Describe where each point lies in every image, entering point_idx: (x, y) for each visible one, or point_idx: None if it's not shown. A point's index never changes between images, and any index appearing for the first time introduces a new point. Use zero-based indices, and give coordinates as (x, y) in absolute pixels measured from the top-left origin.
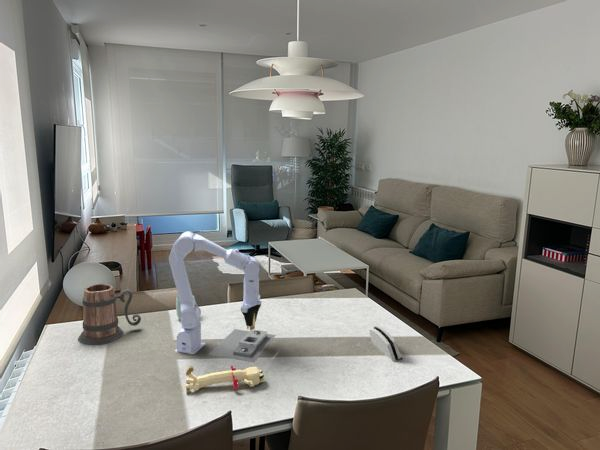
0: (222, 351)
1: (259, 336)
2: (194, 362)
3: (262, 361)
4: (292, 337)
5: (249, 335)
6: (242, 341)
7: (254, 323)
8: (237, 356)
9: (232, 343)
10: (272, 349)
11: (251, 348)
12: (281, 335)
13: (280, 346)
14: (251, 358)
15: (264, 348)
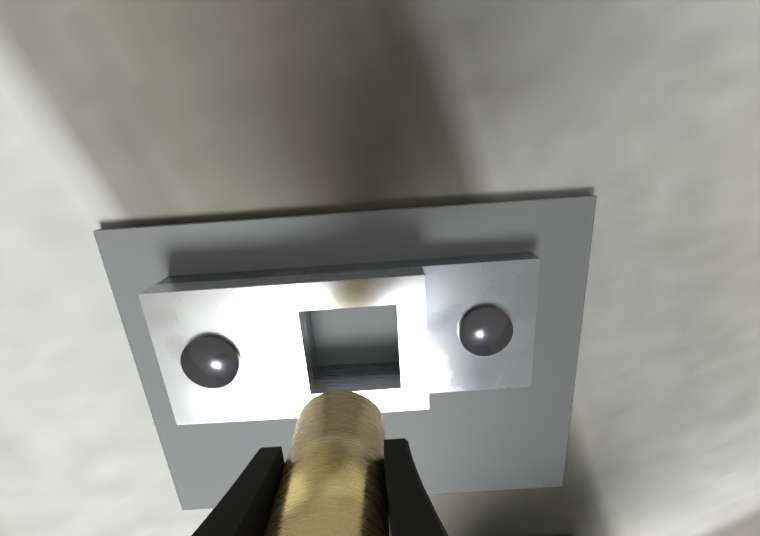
0: (502, 441)
1: (265, 316)
2: (645, 500)
3: (543, 151)
4: (25, 78)
5: (287, 391)
6: (408, 392)
7: (334, 440)
8: (542, 337)
9: None
10: (327, 158)
11: (445, 294)
12: (55, 190)
13: (247, 115)
14: (546, 240)
15: (359, 217)
